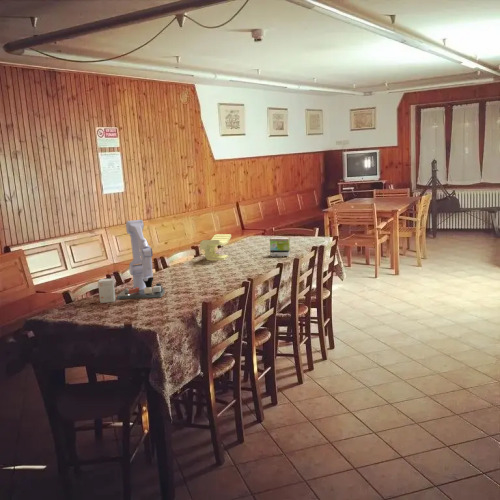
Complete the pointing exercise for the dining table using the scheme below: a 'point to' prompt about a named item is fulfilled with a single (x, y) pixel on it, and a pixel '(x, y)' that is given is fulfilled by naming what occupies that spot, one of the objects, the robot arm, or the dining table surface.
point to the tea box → (279, 246)
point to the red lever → (131, 290)
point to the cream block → (147, 290)
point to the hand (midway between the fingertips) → (149, 290)
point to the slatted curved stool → (211, 244)
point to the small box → (106, 290)
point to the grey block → (157, 288)
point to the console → (141, 294)
